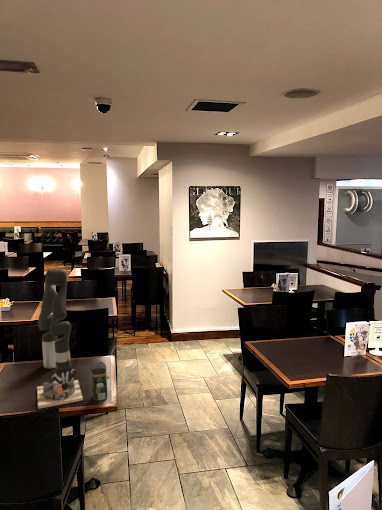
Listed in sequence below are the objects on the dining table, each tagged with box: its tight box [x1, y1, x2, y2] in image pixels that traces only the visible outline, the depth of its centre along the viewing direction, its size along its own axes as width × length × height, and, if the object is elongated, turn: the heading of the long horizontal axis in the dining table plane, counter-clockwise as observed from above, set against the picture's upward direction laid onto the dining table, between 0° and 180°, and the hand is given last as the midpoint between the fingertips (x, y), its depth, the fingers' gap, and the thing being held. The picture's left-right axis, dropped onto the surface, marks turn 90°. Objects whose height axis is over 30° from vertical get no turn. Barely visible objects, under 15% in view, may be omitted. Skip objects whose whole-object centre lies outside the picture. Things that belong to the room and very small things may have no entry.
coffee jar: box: [90, 361, 108, 402], centre depth 214 cm, size 10×8×19 cm
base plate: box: [36, 379, 84, 410], centre depth 218 cm, size 22×22×7 cm
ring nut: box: [42, 375, 75, 400], centre depth 217 cm, size 16×16×6 cm
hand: (65, 389), depth 213 cm, fingers closed
